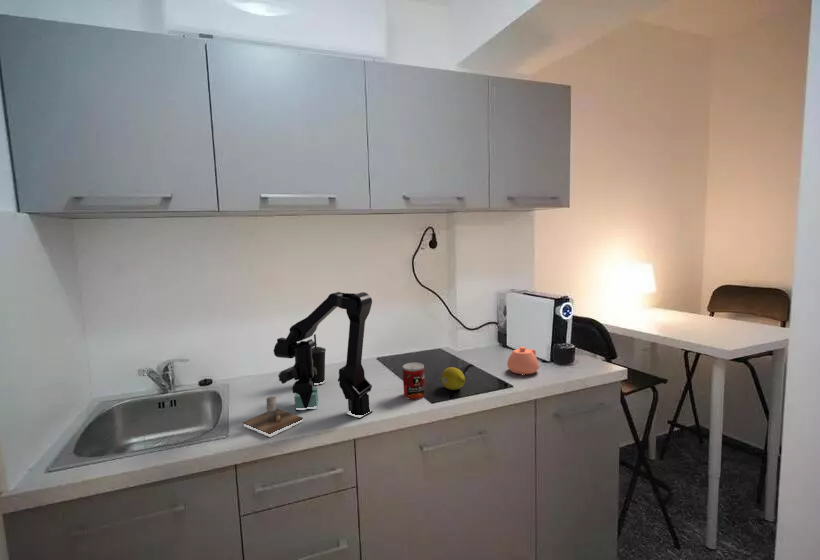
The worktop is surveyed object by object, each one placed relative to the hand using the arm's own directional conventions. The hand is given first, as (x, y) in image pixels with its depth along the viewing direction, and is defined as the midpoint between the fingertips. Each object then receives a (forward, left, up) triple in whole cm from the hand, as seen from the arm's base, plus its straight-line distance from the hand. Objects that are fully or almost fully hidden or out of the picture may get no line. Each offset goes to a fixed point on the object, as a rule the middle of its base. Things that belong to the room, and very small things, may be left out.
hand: (307, 403), depth 140 cm
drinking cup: (+14, -17, -1) cm, 22 cm away
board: (-2, +15, -1) cm, 15 cm away
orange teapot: (-51, -69, -1) cm, 86 cm away
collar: (0, 0, -1) cm, 1 cm away
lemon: (-36, -38, -1) cm, 52 cm away
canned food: (-27, -26, -1) cm, 38 cm away
